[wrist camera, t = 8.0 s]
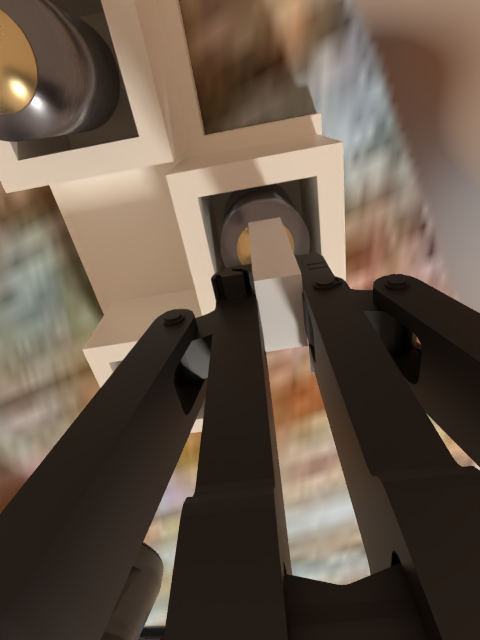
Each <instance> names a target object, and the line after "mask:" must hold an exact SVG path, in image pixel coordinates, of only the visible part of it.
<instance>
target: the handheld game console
mask: <svg viewBox="0 0 480 640" xmlns="http://www.w3.org/2000/svg"><path fill="white" fill-rule="evenodd" d="M164 634H165V629H143V630H142V632H141V634H140V636H139V638H138V640H160V639H161V638H162V636H163V635H164Z"/></svg>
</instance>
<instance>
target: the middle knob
mask: <svg viewBox="0 0 480 640" xmlns="http://www.w3.org/2000/svg"><path fill="white" fill-rule="evenodd" d="M278 217H280V219H281V221H282V224H283V227H284V229H285V232H286V235H287V237H288V240H289V242H290V245H291V248H292V250H293V253H294V256H296V255H302V254H308V253H309V251H310V236H309V232H308V229H307V226H306V224H305V222H304V221H303V219H302V217H301V216H300V214H299V212H298V211H297V209H296V207H295V206H294V204H293V202H292V201H291V199H290V197H289V196H288V194H287V193H286V192H285V190H284V189H283V188H281V187H280V186H279V185H277V184H276V183H275V184H269V185H264V186H258V187H253V188H247V189H242V190H236V191H233V193H232V194H231V195H230V197H229V198H228V200H227V203H226V206H225V211H224V219H223V227H222V235H221V243H220V250H221V256H222V260H223V262H224V265H225V266H226V268H229V267H234V266H240V265H246V264H252V262H251V250H250V238H249V226H248V223H249V222H255V221H261V220H266V219H272V218H278Z"/></svg>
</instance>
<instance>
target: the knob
mask: <svg viewBox="0 0 480 640" xmlns="http://www.w3.org/2000/svg"><path fill="white" fill-rule="evenodd" d="M119 94H120V79H119V72H118V68H117V65H116V62H115V59H114V56H113V54H112V52H111V50H110V48H109V47H108V45H107V43H106V42H105V41H104V39H103V38H102V37H101V36H100V34H99V33H98V32H97V31H96V30H95V29H94V28H92V27H91V26H90V25H89V24H87V23H86V22H84V21H83V20H81V19H80V18H78V17H76V16H74V15H73V14H71V13H69V12H67V11H66V10H64V9H62V8H60V7H59V6H57V5H55V4H54V3H52V2H50V1H48V0H0V140H1V141H7V142H19V141H27V140H34V139H40V138H47V137H54V136H61V135H67V134H74V133H81V132H88V131H92V130H95V129H97V128H99V127H101V126H102V125H104V124H105V123H106V122H107V121H108V120H109V119H110V117H111V116H112V115H113V113H114V111H115V109H116V106H117V104H118V100H119Z"/></svg>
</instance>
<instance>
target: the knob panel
mask: <svg viewBox="0 0 480 640" xmlns="http://www.w3.org/2000/svg"><path fill="white" fill-rule="evenodd" d="M48 1H50V2H52V3H54V4H55V5H57V6H59V7H60V8H62V9H64V10H66V11H67V12H69V13H71V14H73V15H74V16H76V17H78V18H80V19H81V20H83V21H84V22H86V23H87V24H89V25H90V26H91V27H92V28H94V29H95V30H96V31H97V32H98V33H99V34H100V36H101V37H102V38H103V39H104V41H105V42H106V43H107V45H108V47H109V48H110V50H111V52H112V54H113V56H114V59H115V62H116V65H117V68H118V72H119V79H120V94H119V100H118V104H117V106H116V109H115V111H114V113H113V115H112V116H111V117H110V119H109V120H108V121H107V122H106V123H105V124H104V125H102V126H101V127H99V128H97V129H95V130H92V131H88V132H81V133H74V134H67V135H61V136H54V137H47V138H40V139H34V140H27V141H19V142H7V141H1V140H0V181H1V183H2V185H3V187H4V189H5V192H6V193H10V192H15V191H20V190H26V189H31V188H36V187H42V186H47V185H49V186H50V188H51V190H52V193H53V195H54V197H55V200H56V202H57V205H58V207H59V209H60V212H61V214H62V216H63V219H64V221H65V224H66V226H67V228H68V231H69V233H70V235H71V238H72V240H73V243H74V245H75V247H76V250H77V252H78V254H79V257H80V259H81V262H82V264H83V266H84V269H85V271H86V273H87V276H88V278H89V281H90V283H91V285H92V288H93V290H94V292H95V295H96V297H97V300H98V302H99V304H100V307H101V309H102V311H103V314H104V316H103V318H102V319H101V321H100V322H99V324H98V325H97V327H96V329H95V330H94V332H93V333H92V335H91V336H90V338H89V339H88V341H87V343H86V344H85V346H84V347H83V349H82V350H83V353H84V355H85V357H86V359H87V361H88V363H89V365H90V367H91V369H92V371H93V373H94V375H95V377H96V379H97V381H98V383H99V386H100V388H101V387H102V386H103V384H104V383H105V382H106V381H107V379H108V378H109V377H110V376H111V374H112V373H113V372H114V371H115V369H116V368H117V367H118V366H119V364H120V363H121V362H122V360H123V359H124V358H125V357H126V355H127V354H128V353H129V352H130V350H131V349H132V348H133V347H134V345H135V344H136V343H137V342H138V340H139V339H140V338H141V337H142V335H143V334H144V333H145V332H146V330H147V329H148V328H149V327H150V325H151V324H152V323H153V321H154V320H155V319H156V318H157V317H159V316H160V315H162V314H164V313H165V312H167V311H169V310H170V311H171V310H173V309H189V310H191V311H193V313H194V315H195V318H197V317H200V316H203V315H206V314H208V313H210V312H212V311H214V310H215V307H216V300H215V295H214V291H213V287H212V282H211V277H212V276H213V275H214V274H215V273H217V272H219V271H221V270H223V269H227V268H226V266H225V265H224V262H223V260H222V256H221V250H220V243H221V235H222V227H223V219H224V211H225V206H226V203H227V200H228V198H229V197H230V195H231V194H232V193H233V191H236V190H242V189H247V188H253V187H258V186H264V185H269V184H275V183H276V184H277V185H279V186H280V187H281V188H283V189H284V190H285V192H286V193H287V194H288V196H289V197H290V199H291V201H292V202H293V204H294V206H295V207H296V209H297V211H298V212H299V214H300V216H301V217H302V219H303V221H304V222H305V224H306V226H307V229H308V232H309V236H310V251H309V253H314V252H316V253H318V254H320V255H322V256H323V257H324V259H325V260H326V262H327V264H328V266H329V267H330V269H331V271H332V273H333V274H334V276H336V277H339V278H342V279H343V280H345V281H346V259H345V214H344V168H343V142H341V141H338V140H335V139H331V138H328V137H325V136H322V128H321V113H315V114H310V115H305V116H300V117H294V118H289V119H284V120H279V121H274V122H269V123H264V124H258V125H253V126H248V127H243V128H238V129H233V130H228V131H223V132H217V133H212V134H207V135H205V131H204V126H203V121H202V116H201V111H200V106H199V101H198V96H197V91H196V86H195V81H194V75H193V70H192V65H191V60H190V55H189V50H188V45H187V40H186V35H185V30H184V25H183V19H182V14H181V9H180V4H179V0H48ZM204 407H205V400H204V402H203V404H202V407H201V409H200V411H199V414H198V416H197V418H196V421H195V423H194V425H193V428H192V430H191V432H190V433H195V432H202V425H203V416H204Z"/></svg>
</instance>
